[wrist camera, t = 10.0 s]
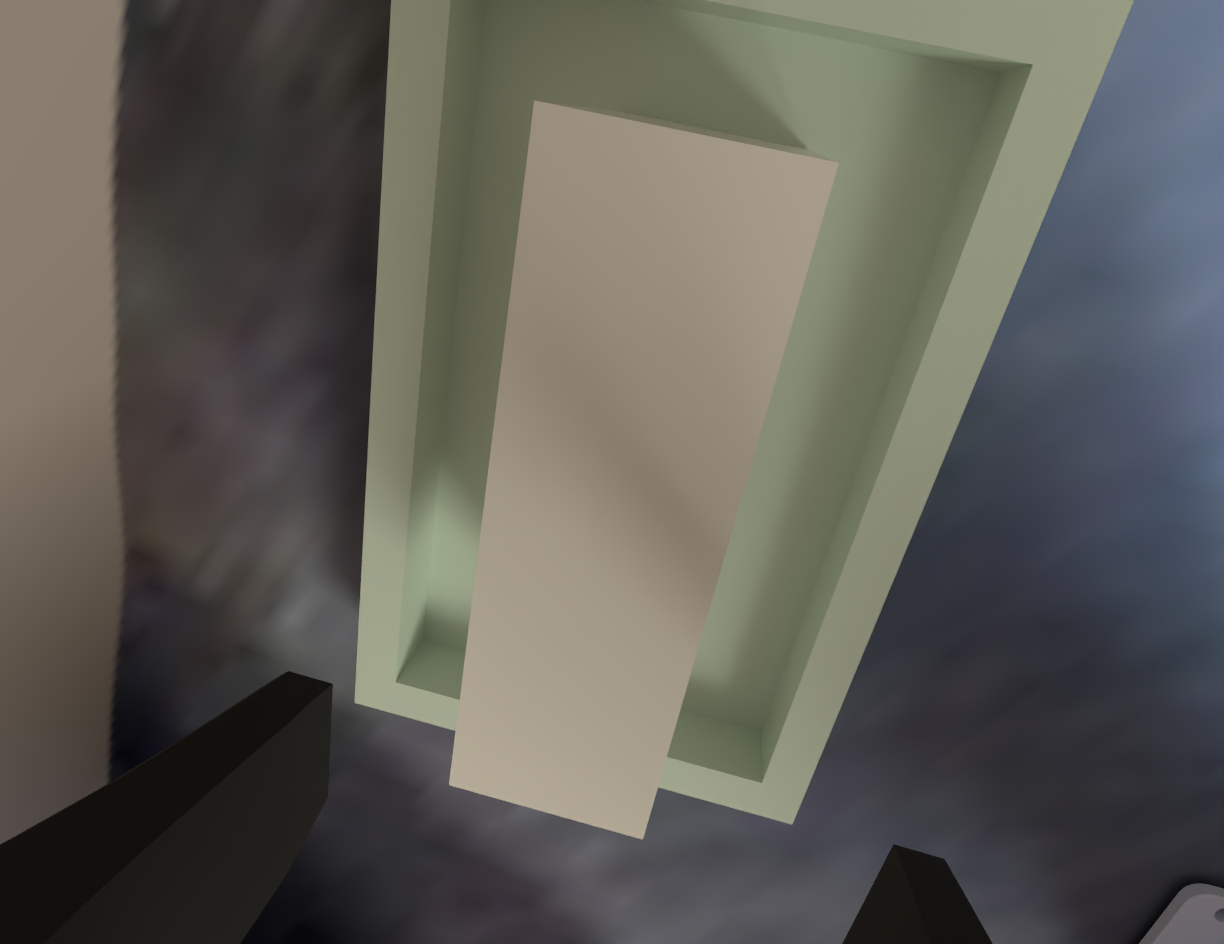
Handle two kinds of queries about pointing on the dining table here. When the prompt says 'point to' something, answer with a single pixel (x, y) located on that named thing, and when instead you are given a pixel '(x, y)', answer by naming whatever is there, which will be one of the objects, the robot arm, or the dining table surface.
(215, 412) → the dining table surface
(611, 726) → the beige rectangular block
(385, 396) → the tray
